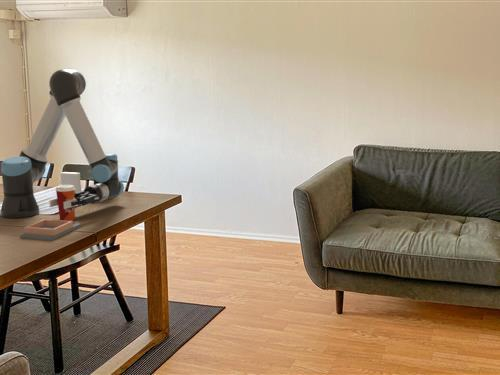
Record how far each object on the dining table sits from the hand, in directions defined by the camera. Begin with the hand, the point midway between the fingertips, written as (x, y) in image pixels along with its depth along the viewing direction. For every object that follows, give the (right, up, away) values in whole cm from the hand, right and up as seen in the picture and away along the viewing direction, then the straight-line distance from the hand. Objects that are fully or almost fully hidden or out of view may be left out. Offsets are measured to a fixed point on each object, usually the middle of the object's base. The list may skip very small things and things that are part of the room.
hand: (57, 204), depth 242 cm
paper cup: (+2, -7, +6) cm, 9 cm away
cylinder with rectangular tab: (-8, +2, +47) cm, 47 cm away
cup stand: (+1, -10, -11) cm, 15 cm away
